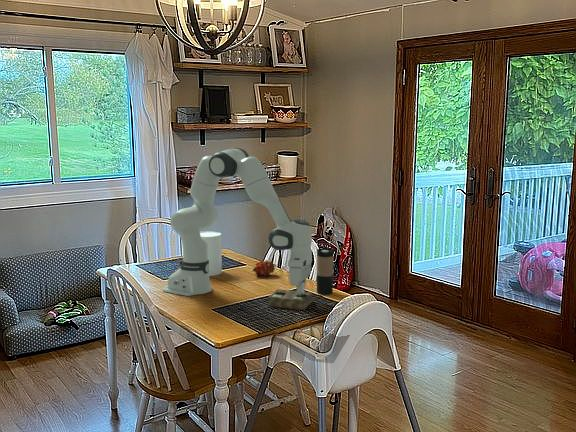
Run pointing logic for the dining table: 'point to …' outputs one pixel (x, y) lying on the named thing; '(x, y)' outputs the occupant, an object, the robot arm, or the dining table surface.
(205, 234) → the canister
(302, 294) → the steel plug
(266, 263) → the dragon fruit
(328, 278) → the travel mug
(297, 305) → the socket block
